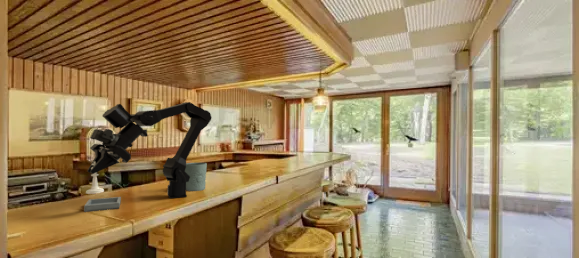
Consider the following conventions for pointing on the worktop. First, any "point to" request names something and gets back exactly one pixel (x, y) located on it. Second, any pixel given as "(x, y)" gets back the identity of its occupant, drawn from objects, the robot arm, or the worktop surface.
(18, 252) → the worktop surface
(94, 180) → the chess piece
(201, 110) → the robot arm
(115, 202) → the tray
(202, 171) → the grey cylinder
